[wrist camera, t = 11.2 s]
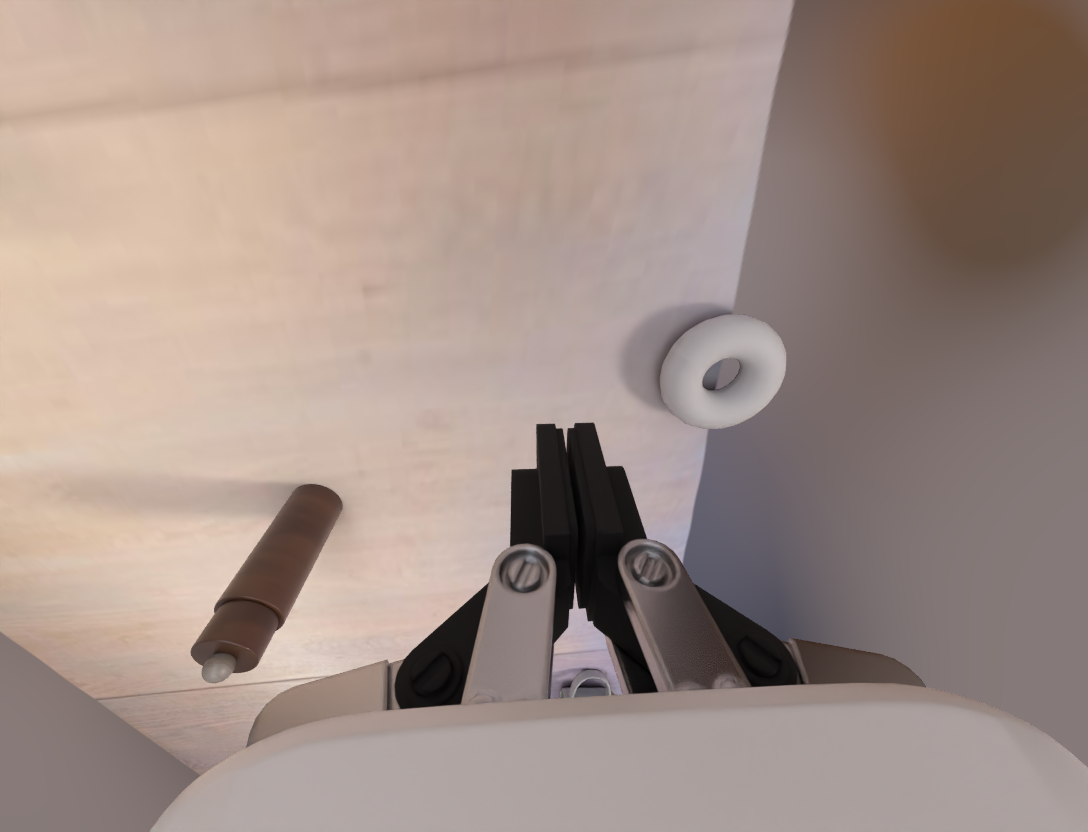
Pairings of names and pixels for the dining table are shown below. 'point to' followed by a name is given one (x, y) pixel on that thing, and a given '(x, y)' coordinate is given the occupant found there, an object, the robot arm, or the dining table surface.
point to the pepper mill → (267, 585)
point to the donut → (706, 347)
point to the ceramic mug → (586, 692)
